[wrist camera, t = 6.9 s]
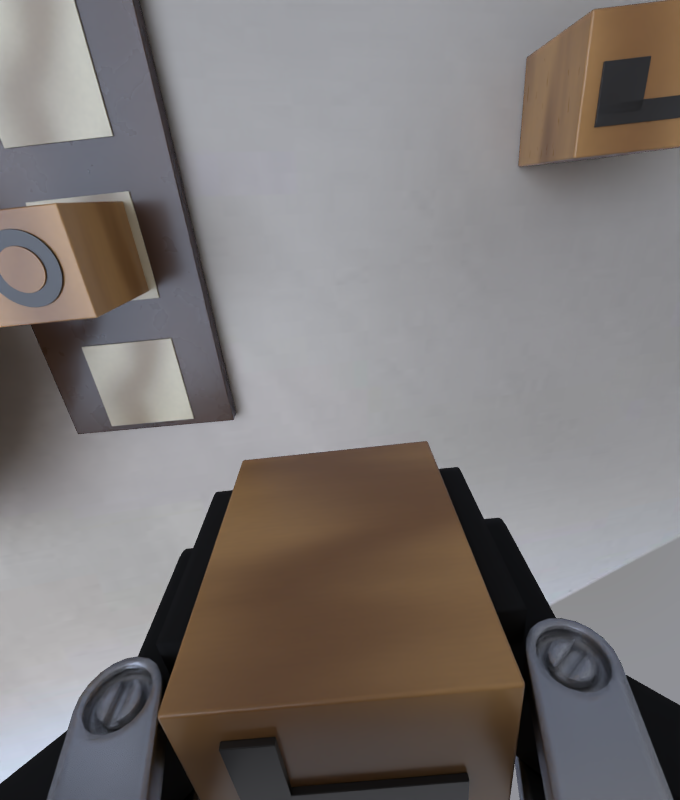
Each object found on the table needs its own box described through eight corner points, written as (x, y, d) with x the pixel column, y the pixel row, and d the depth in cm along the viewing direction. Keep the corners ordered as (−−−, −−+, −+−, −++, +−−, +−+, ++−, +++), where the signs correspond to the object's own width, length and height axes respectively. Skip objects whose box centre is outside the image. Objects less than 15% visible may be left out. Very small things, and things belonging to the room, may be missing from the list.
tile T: (427, 440, 10) (530, 693, 5) (430, 574, 12) (506, 859, 7) (242, 459, 10) (151, 727, 5) (275, 589, 12) (233, 880, 7)
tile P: (624, 45, 19) (730, -10, 14) (607, 157, 21) (693, 145, 16) (526, 56, 19) (594, 7, 14) (517, 167, 21) (574, 158, 16)
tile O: (123, 200, 21) (53, 202, 16) (149, 291, 23) (95, 319, 17) (36, 210, 21) (-61, 215, 16) (70, 299, 23) (-7, 329, 18)
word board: (134, -23, 18) (124, -34, 17) (236, 414, 27) (233, 420, 26) (-94, 6, 18) (-114, -3, 17) (84, 428, 27) (77, 435, 26)
